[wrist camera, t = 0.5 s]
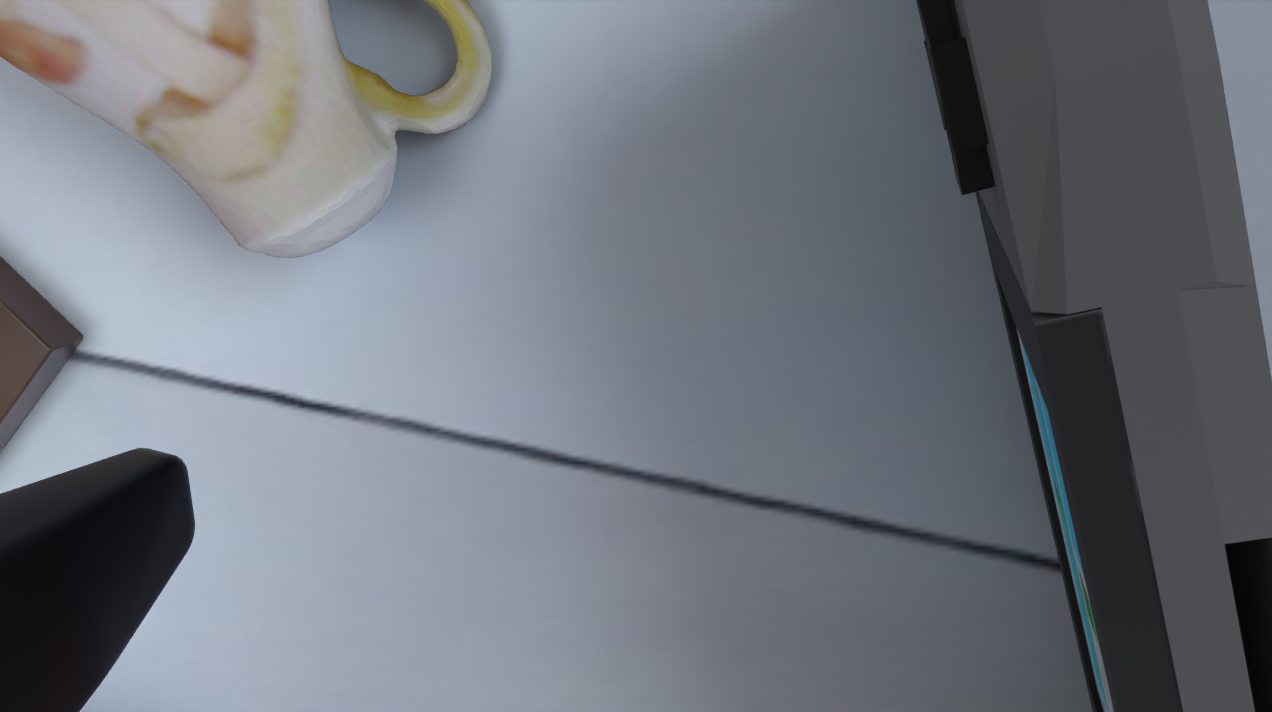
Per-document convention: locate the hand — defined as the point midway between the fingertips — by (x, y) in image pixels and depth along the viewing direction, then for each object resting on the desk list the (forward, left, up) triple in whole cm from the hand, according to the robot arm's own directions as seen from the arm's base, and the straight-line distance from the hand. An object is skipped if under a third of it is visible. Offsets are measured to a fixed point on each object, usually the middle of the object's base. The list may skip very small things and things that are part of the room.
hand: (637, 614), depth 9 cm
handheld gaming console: (+1, -7, -15) cm, 17 cm away
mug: (-4, +12, -15) cm, 19 cm away
